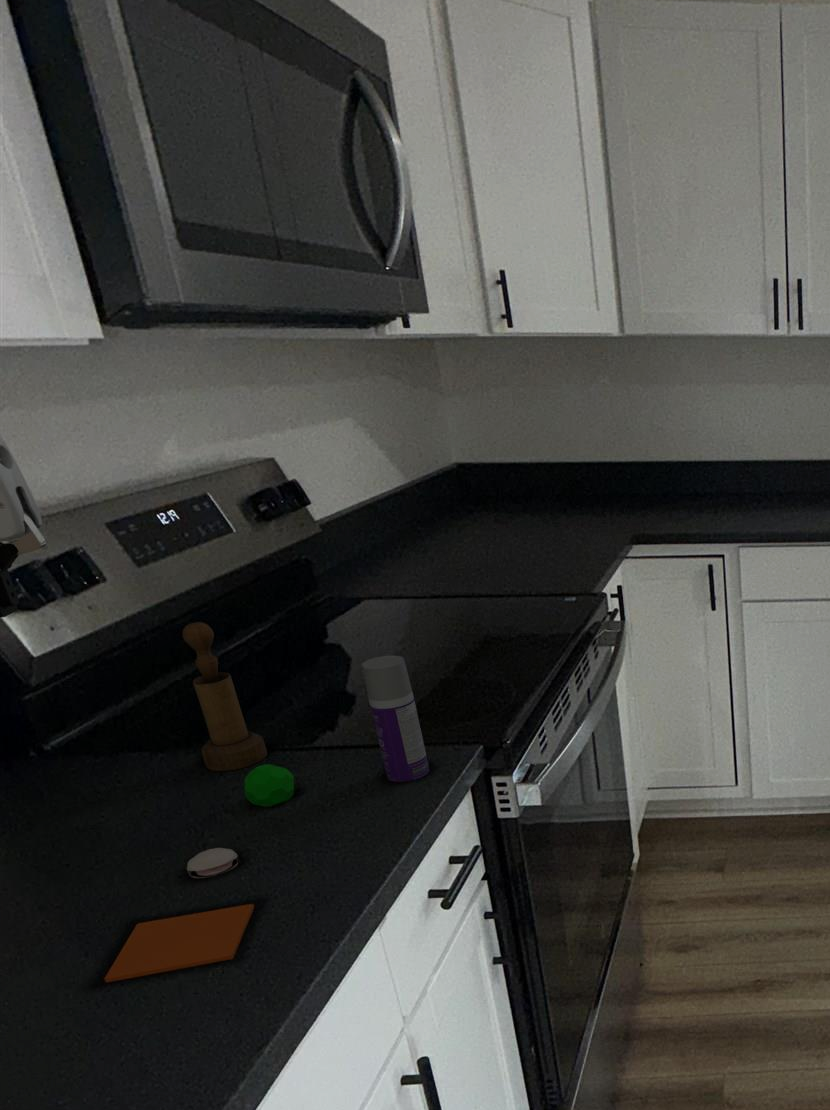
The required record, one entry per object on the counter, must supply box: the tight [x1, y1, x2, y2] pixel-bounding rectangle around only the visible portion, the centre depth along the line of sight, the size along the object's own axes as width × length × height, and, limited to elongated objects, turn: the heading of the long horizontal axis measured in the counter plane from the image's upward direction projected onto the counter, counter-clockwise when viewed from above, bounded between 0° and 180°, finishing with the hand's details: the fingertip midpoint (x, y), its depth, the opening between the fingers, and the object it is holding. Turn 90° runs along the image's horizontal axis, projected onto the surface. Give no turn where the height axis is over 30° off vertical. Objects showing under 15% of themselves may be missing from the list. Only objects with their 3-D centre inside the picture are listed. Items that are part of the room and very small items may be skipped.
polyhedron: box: [244, 763, 295, 808], centre depth 105 cm, size 5×5×5 cm
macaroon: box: [186, 847, 240, 879], centre depth 93 cm, size 4×5×2 cm
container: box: [361, 655, 430, 783], centre depth 109 cm, size 5×5×15 cm
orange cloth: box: [104, 903, 255, 983], centre depth 82 cm, size 10×9×1 cm
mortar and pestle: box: [182, 621, 268, 772], centre depth 113 cm, size 7×6×18 cm
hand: (0, 613), depth 89 cm, fingers closed
